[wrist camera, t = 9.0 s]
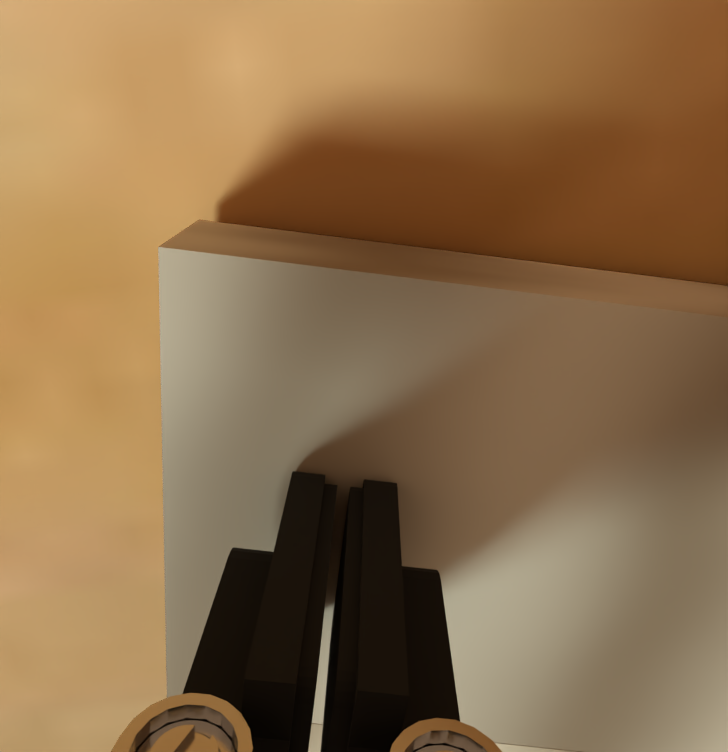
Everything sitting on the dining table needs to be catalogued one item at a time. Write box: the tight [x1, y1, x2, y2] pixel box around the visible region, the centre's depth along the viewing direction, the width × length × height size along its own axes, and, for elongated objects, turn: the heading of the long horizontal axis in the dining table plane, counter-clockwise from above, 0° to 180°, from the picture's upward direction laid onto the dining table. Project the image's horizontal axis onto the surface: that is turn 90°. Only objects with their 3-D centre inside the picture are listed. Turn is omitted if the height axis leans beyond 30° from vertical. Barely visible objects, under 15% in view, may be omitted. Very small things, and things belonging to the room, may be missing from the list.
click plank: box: [158, 220, 728, 752], centre depth 11 cm, size 18×10×2 cm, turn 83°
